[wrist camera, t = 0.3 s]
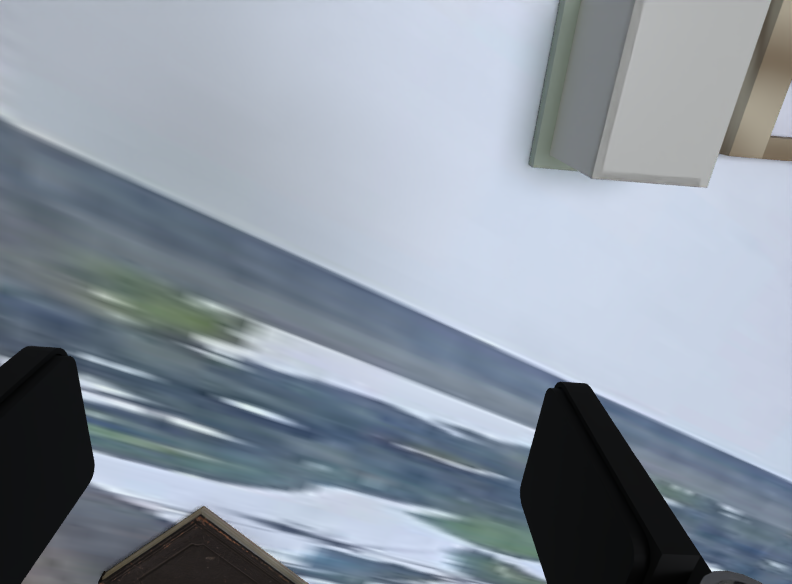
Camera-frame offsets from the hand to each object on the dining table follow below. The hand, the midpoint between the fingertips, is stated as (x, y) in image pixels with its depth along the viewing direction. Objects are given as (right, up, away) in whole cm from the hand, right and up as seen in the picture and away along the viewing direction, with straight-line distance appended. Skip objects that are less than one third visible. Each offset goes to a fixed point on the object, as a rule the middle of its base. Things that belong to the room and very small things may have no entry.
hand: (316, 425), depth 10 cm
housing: (+17, +17, +25) cm, 34 cm away
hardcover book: (-17, -31, +48) cm, 60 cm away
